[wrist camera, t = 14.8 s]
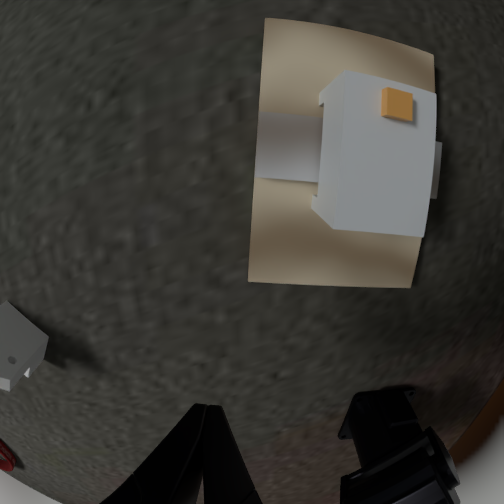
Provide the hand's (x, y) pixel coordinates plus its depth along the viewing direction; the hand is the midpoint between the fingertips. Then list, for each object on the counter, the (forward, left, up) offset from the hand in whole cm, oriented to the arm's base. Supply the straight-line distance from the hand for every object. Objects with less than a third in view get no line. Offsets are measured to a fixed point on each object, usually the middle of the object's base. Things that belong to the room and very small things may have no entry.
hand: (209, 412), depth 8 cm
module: (+8, -7, -10) cm, 15 cm away
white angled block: (-8, +20, -12) cm, 25 cm away
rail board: (+8, -7, -12) cm, 16 cm away
